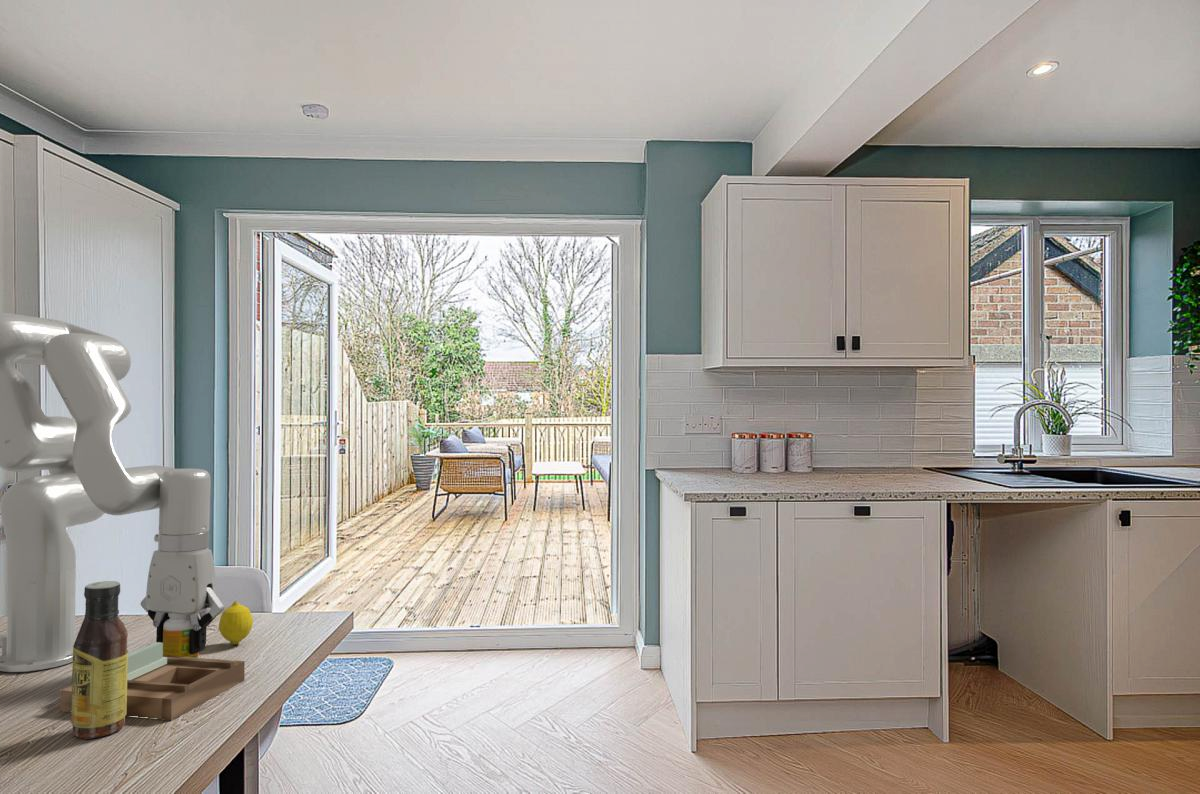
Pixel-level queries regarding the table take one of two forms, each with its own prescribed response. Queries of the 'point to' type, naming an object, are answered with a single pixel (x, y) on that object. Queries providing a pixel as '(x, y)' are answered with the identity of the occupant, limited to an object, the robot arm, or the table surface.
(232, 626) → the fruit
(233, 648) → the table surface
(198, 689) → the wooden tray
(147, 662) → the lid
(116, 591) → the sauce bottle
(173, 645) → the supplement bottle
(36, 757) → the table surface
